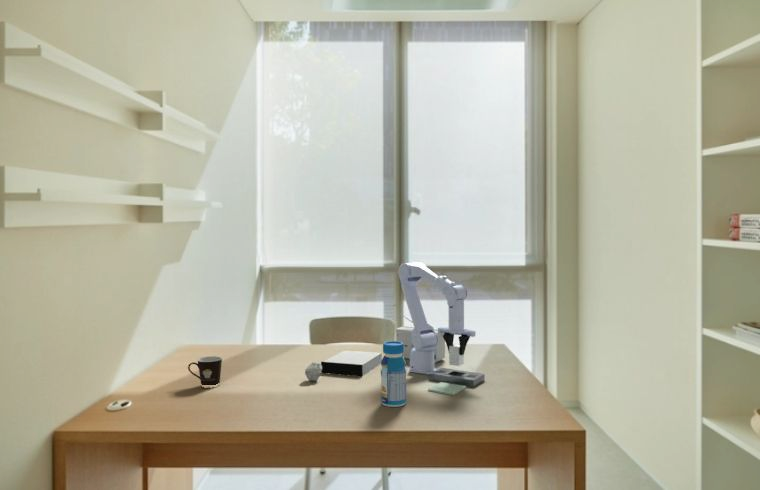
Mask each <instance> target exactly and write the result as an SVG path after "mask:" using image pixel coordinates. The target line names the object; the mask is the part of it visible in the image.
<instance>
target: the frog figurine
mask: <svg viewBox="0 0 760 490" xmlns="http://www.w3.org/2000/svg"><path fill="white" fill-rule="evenodd" d="M321 371H322V365H321V362H317V361H313V362H311V364H309V365H308V366H307V367H306V368H305V371H304V375H305V376H306V378H307V380H308V381H311V382H315V381H317V380H319V378H320V377H321V374H322V373H321Z"/></svg>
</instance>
